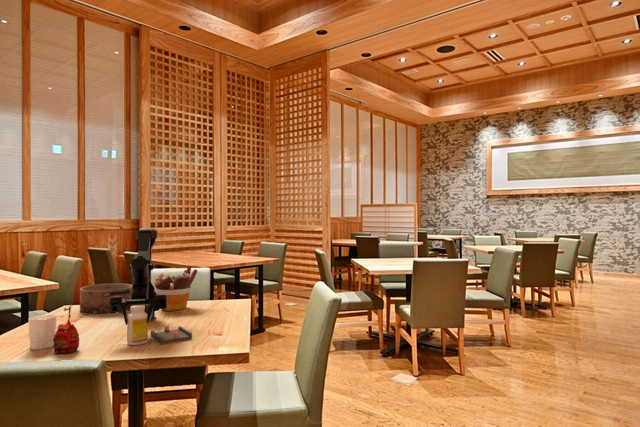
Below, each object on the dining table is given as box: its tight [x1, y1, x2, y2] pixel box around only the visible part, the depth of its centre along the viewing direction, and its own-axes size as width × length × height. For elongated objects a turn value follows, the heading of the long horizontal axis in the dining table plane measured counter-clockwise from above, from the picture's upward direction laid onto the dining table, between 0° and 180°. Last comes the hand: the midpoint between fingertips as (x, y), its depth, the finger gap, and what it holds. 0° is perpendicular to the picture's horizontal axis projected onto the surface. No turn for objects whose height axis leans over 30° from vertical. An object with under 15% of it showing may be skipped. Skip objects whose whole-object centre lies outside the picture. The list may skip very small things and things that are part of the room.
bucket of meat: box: [154, 265, 198, 312], centre depth 201 cm, size 20×16×20 cm
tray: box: [150, 325, 193, 345], centre depth 152 cm, size 12×11×3 cm
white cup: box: [28, 313, 57, 351], centre depth 141 cm, size 8×8×10 cm
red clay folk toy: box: [52, 303, 80, 355], centre depth 136 cm, size 8×7×15 cm
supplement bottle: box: [126, 305, 149, 346], centre depth 146 cm, size 7×7×13 cm
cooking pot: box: [79, 282, 132, 315], centre depth 199 cm, size 30×22×11 cm
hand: (137, 323), depth 144 cm, fingers closed on supplement bottle, 7 cm apart
